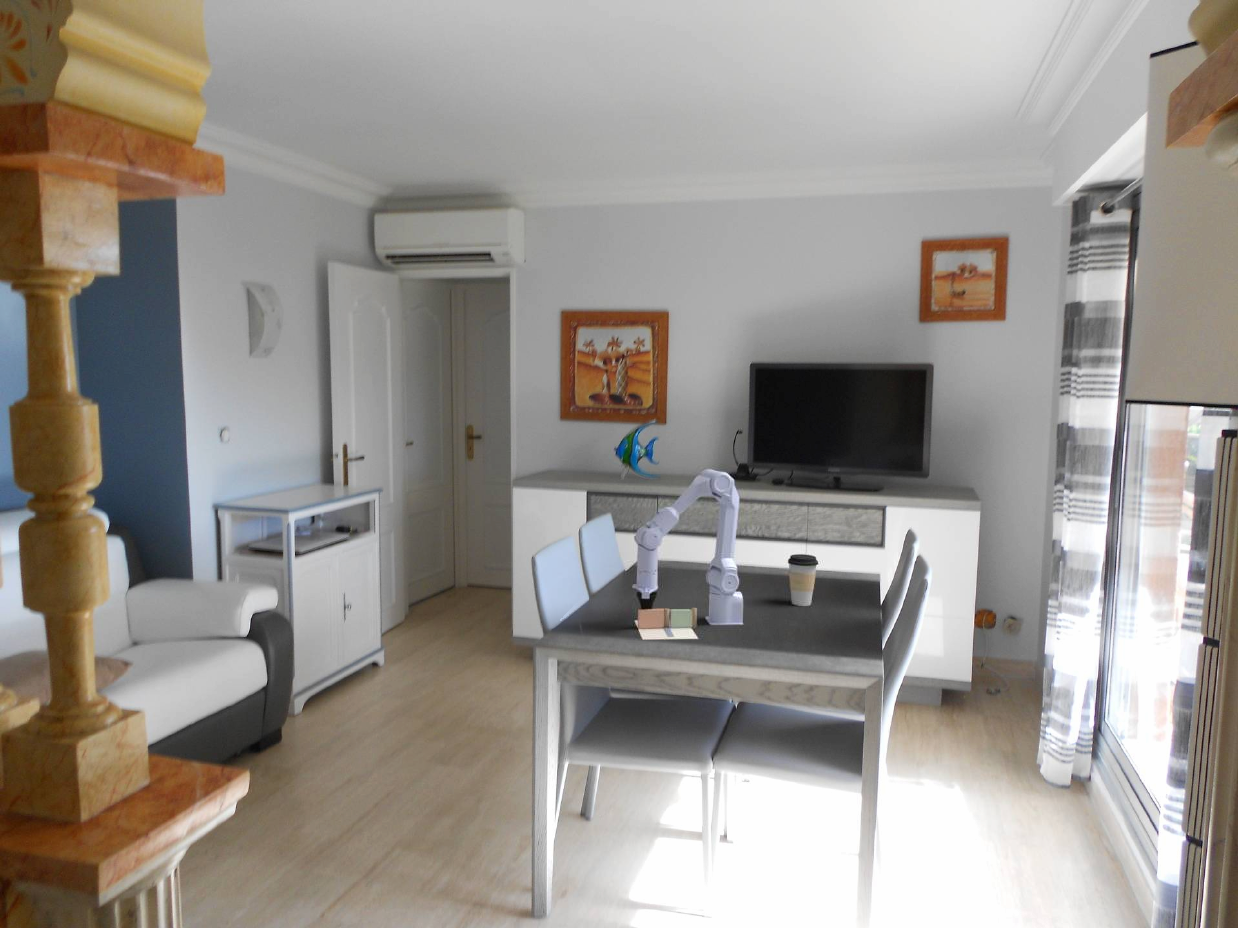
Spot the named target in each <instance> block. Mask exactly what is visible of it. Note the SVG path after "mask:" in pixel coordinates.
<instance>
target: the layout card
mask: <svg viewBox="0 0 1238 928" xmlns="http://www.w3.org/2000/svg"><path fill="white" fill-rule="evenodd" d="M634 622H635V625H636V627H637V629H638V632H639V635H640V637H641V639H642V640H644V641H645V640H653V641H654V640H699V637H698V636H697V634H696V633H695V631H694V630H693V628H691V627H682V628H671V627H670V622H669V627H659V628H638V619H636V620H634Z"/></svg>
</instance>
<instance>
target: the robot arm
mask: <svg viewBox="0 0 1238 928" xmlns="http://www.w3.org/2000/svg"><path fill="white" fill-rule="evenodd" d="M707 496H708V497H709V496H713V497H714V498H715V499H716V500H717V502H719V511H718V519H717V520H718V521H717V530H716V541H715V551H714V557H713V558H712V560H711V561H710V563H709V564H710V565H709V569H708V570H707V572H706V576H705V579H706V583H707V584H708V585H709V598H708V616H705V617H704V618H705V620H706V621H707V622H708V624H709V625H710V626H740V625H741V626H742V625H744V623H743V619H744V618H743V617H744V598H743V594H742V592H741V591H737V589H738V588H739V585H740V579H739V576H738V566H737V564H736V562H735V560H734V557H735V549H736V537H737V529H738V517H739V509H740V508H739V507H740V495H739V493H738V491H737V488H736V485H735V479H734V478H733V477H732V476H730V474H728V473H727V472H725V471H718V470H714V469H712V468H707V469H704V470H703V471H701V473H700V474H699V475H697V476H695V478H694V480H693V481H692V482H691V484H689V486H688V487H687V488H686V489H685V490H684V492H682V494H681V495H680V496H679V497H678V498H677V499H676V500H675V501H674V503H673V504H672V505H671V506H665V507H664V506H663V508H659V509H658V510H656V511H657V514H656V515H654V517H653V518H652V519H651V520H649V521H647V522H645V526H641V527H639V528H638V529H637V530H636V533H635V535H633V538H634V542H635V543H636V544H637V554H636V555H637V556H636V557H637V558H636V583H635V584H632V588H633V589H636V590H637V592H636V597H637V599H638V602H639V605H640V609H653V605H654V602H655V600H656V598H657V596H658V592H657V591H658V589H659V585H658V574H659V573H658V565H659V563H658V561H659V560H658V559H659V547H660V546H661V545H662V541H663V538H664V537H665V536H666V535H667V534H668V533H669V532H670V531H671V530H672V529H673V528H675V526H676V525H677V524H678V523H679V522H680V515H682V514H683V512H685V511H686V510H687V509H688V508H689V507H690V506H691V505H692V504H693V503H695V502H696V501H697V500H698V499H699V498H701V497H707Z"/></svg>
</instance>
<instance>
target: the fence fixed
mask: <svg viewBox="0 0 1238 928" xmlns="http://www.w3.org/2000/svg"><path fill="white" fill-rule="evenodd" d="M669 609H670V608H669ZM697 619H698V608H697V607H691V608H690V609H689V608H687V609H686V608H684V609H681V608H679V609H677V608H676V609H675V608H674V609H670V627H671V628H682V627H691V628H692V629H696V628H697V623H698V620H697Z"/></svg>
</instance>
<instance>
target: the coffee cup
mask: <svg viewBox="0 0 1238 928" xmlns="http://www.w3.org/2000/svg"><path fill="white" fill-rule="evenodd" d="M787 563H788V568H789V569H788V570H789V571H788V574H789V576H788V577H789V588H790V596H791V604H792V605H794V606H797V607H798V606H799V607H807V606H811V604H812V599H813V593H814V588H815V582H816V581H815V580H816V574H817V570H816V569H817V566H818V565H819V561H818V560H817V557H816V556H815V555H812V554H805V553H804V554H802V553H799V554H798V553H796V554H791V555H790V557H789V558H788V559H787Z"/></svg>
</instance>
